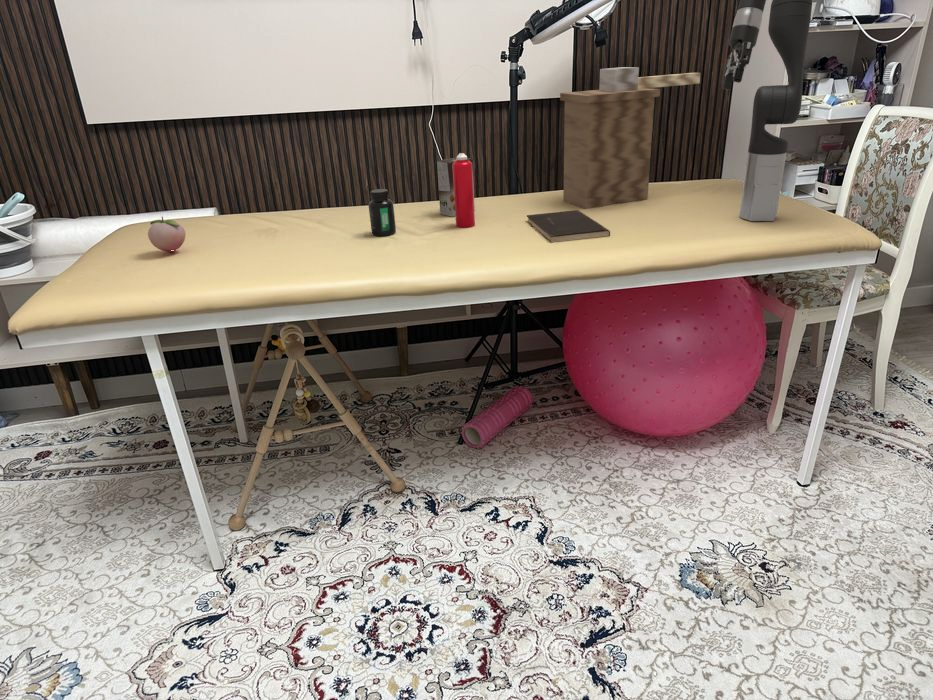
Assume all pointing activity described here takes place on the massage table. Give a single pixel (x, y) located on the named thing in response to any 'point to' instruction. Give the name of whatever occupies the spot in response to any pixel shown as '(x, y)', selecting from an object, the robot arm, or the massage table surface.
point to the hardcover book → (567, 226)
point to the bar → (640, 79)
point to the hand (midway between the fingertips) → (731, 85)
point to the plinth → (607, 146)
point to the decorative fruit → (166, 235)
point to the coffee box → (447, 186)
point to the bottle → (463, 192)
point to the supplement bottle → (381, 213)
